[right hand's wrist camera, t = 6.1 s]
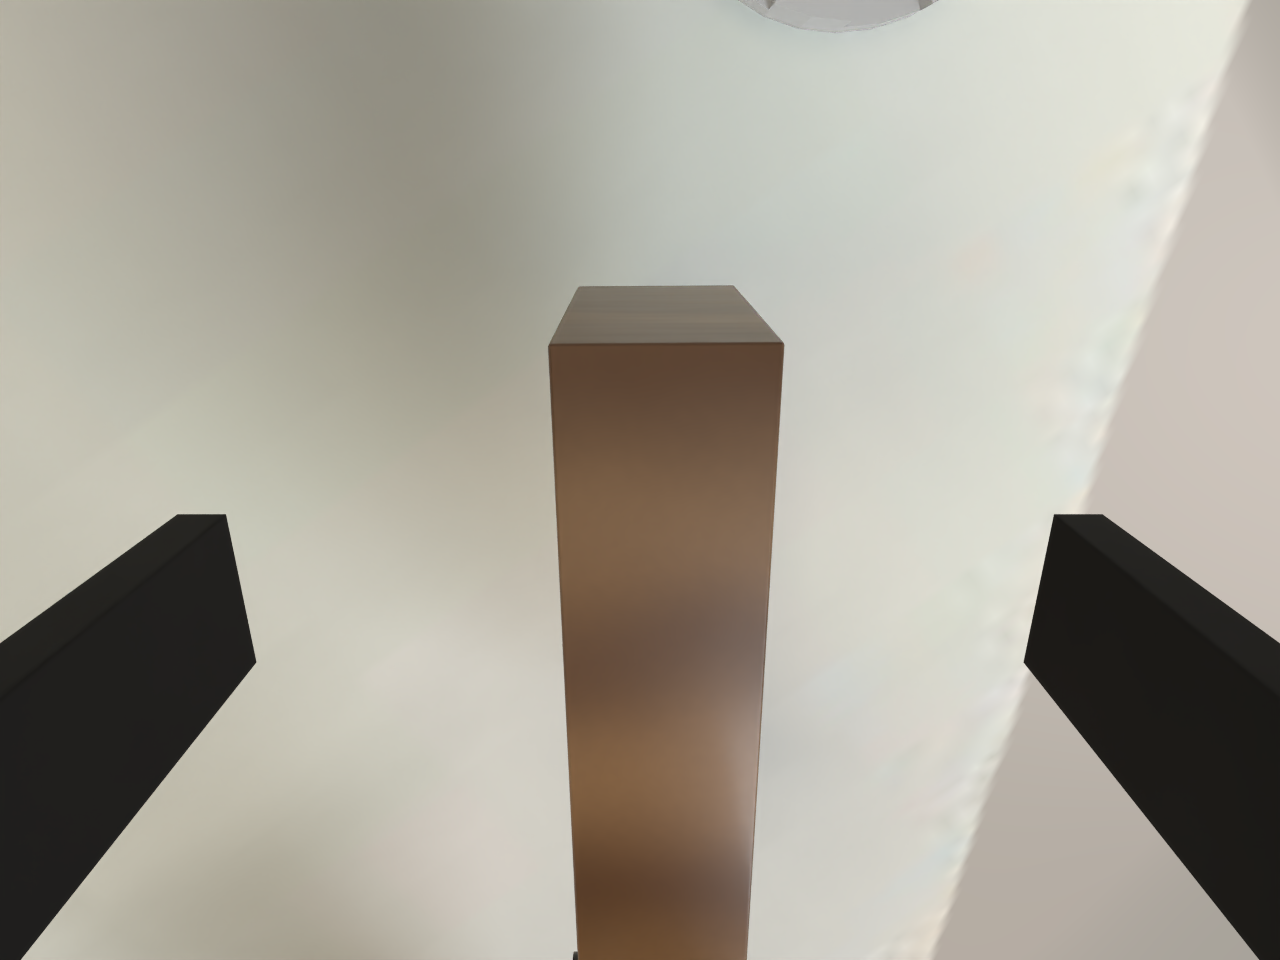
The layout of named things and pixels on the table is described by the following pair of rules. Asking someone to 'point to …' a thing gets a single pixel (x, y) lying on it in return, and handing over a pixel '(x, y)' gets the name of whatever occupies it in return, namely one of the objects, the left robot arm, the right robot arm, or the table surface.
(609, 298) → the bar
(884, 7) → the flag stand
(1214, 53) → the table surface
